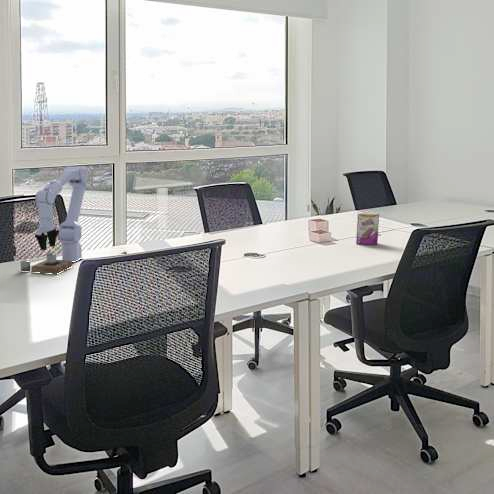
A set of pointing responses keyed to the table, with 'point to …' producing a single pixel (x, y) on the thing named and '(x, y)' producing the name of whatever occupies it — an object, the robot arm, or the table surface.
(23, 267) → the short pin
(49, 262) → the tall pin
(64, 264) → the wooden square frame
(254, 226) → the table surface
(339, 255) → the table surface
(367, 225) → the candy bar box
